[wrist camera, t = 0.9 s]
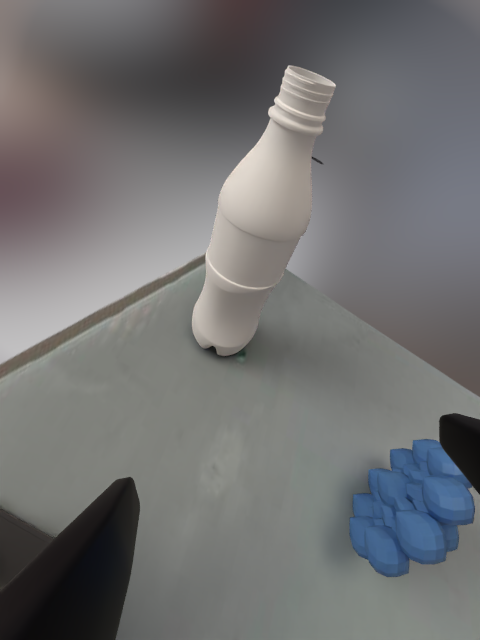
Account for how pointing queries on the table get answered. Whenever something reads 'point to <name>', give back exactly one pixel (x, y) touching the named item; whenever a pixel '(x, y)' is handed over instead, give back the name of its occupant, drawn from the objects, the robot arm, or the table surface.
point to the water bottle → (261, 216)
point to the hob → (18, 545)
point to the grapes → (411, 510)
